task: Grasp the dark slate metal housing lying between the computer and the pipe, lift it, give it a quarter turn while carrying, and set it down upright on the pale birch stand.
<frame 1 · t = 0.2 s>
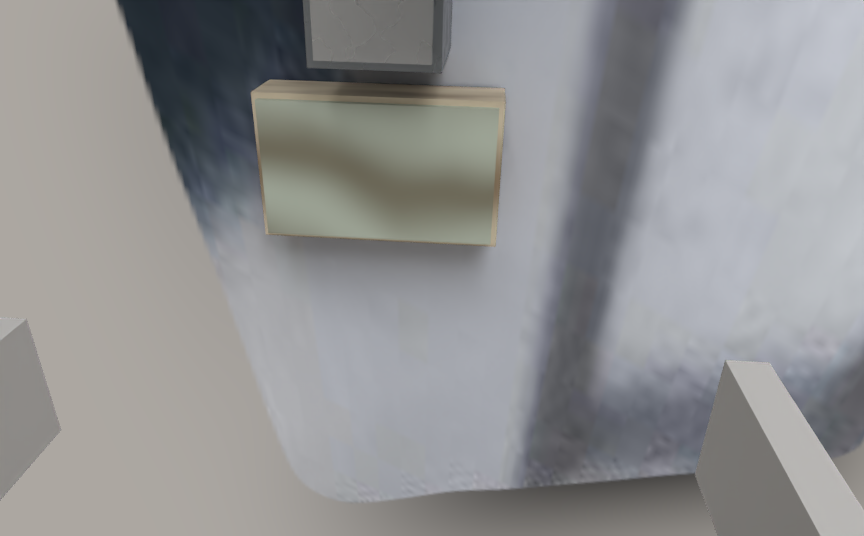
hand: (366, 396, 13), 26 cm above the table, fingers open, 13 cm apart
stand: (386, 154, 38), on the table
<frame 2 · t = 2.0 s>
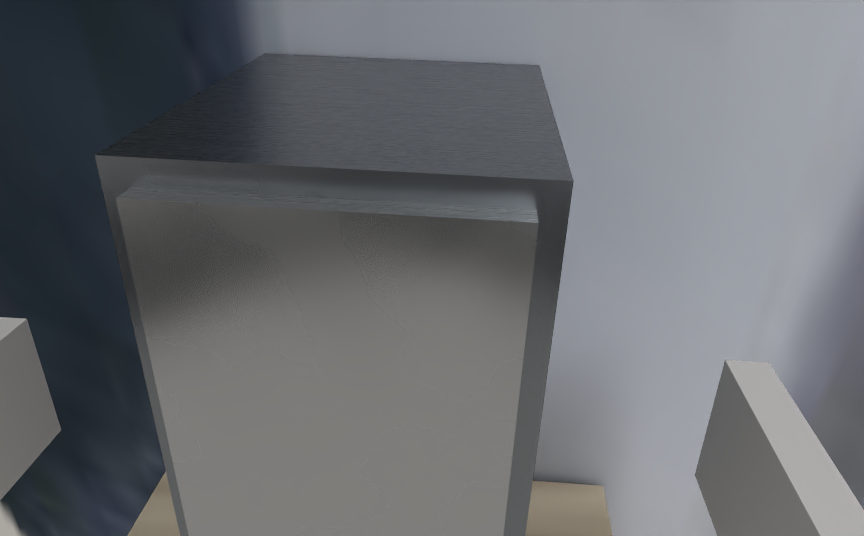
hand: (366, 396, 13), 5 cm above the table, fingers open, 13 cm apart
housing: (399, 263, 17), on the table
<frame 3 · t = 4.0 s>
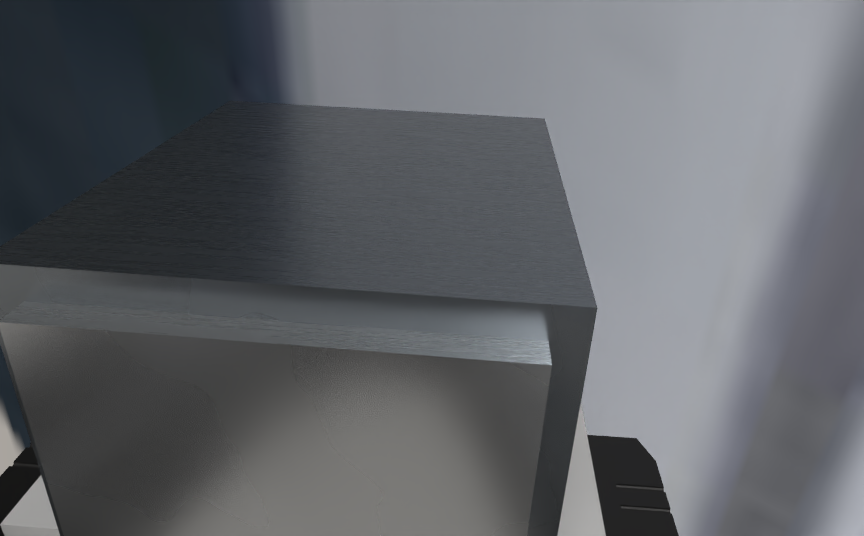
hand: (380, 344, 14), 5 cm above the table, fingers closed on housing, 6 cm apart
housing: (384, 332, 15), point 5 cm above the table, touching gripper
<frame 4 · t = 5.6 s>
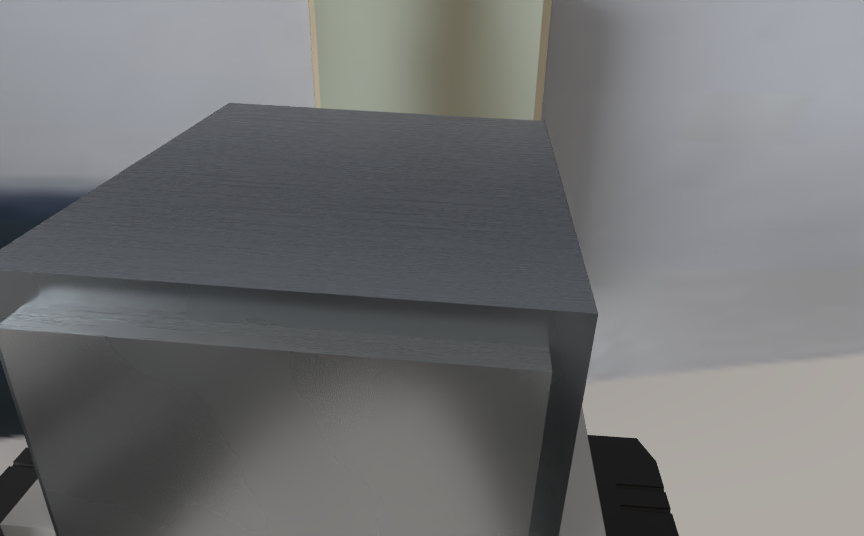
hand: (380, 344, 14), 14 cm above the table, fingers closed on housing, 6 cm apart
stand: (433, 148, 27), on the table
housing: (383, 335, 15), point 14 cm above the table, touching gripper
when the fingers open (5 cm above the table, at t = 7.2 s): housing stays where it is, resting on stand.
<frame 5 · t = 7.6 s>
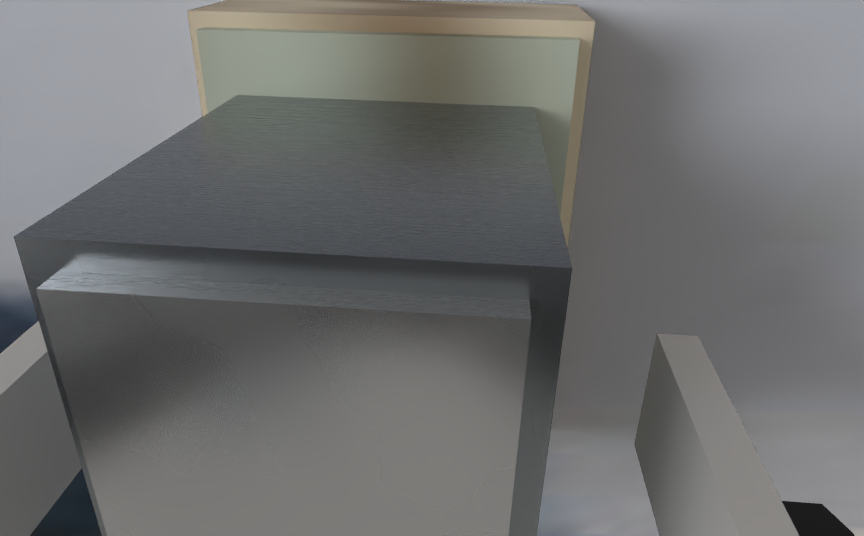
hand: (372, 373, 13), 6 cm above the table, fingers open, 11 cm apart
stand: (406, 247, 19), on the table
housing: (386, 315, 15), point 4 cm above the table, touching stand
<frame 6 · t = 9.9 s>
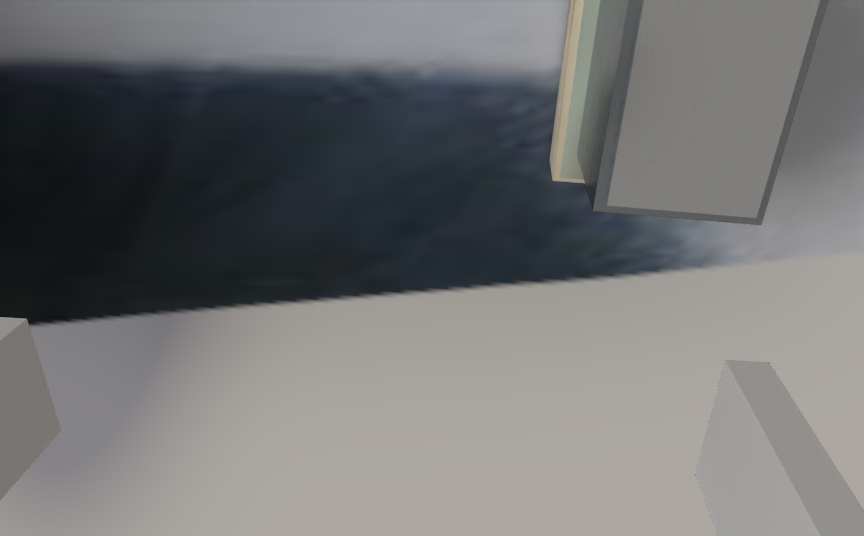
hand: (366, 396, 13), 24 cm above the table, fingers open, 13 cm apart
stand: (651, 34, 31), on the table
housing: (665, 46, 28), point 4 cm above the table, touching stand
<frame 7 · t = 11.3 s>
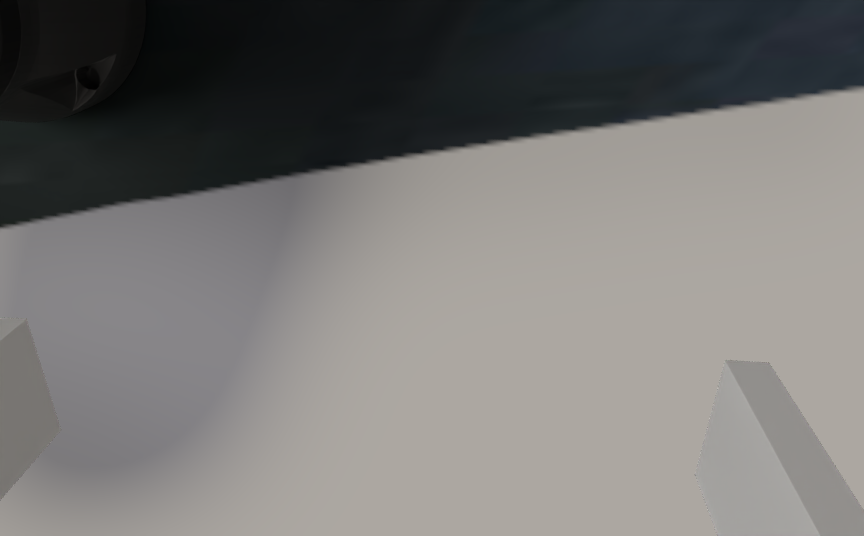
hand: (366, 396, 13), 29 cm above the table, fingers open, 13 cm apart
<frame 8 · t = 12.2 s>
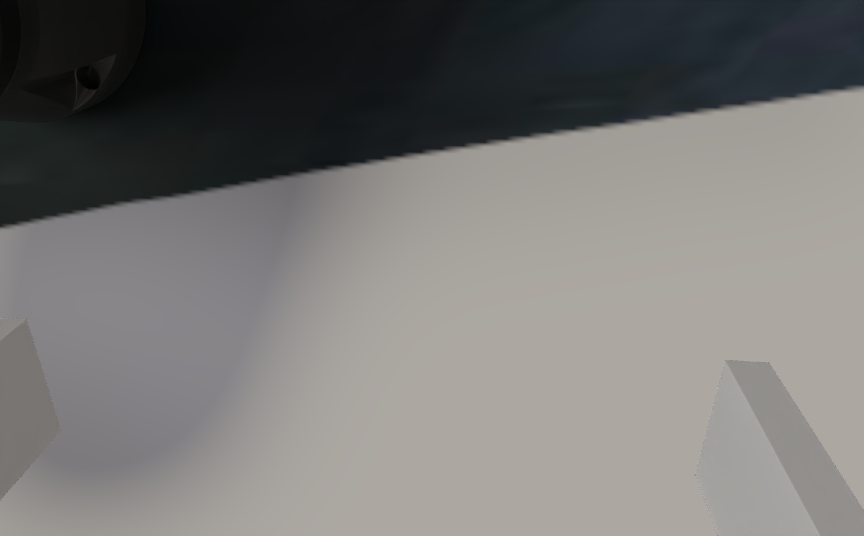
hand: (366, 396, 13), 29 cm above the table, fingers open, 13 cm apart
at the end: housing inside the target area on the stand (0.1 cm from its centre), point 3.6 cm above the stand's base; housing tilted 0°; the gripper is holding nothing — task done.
